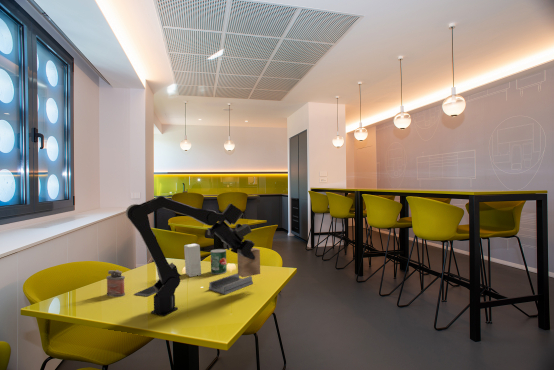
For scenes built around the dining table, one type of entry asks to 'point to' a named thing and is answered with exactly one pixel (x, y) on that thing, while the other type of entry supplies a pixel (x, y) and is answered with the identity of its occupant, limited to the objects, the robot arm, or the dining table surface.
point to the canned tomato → (218, 261)
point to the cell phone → (146, 292)
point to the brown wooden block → (249, 264)
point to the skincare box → (192, 259)
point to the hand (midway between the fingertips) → (251, 257)
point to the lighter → (115, 283)
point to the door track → (229, 284)
